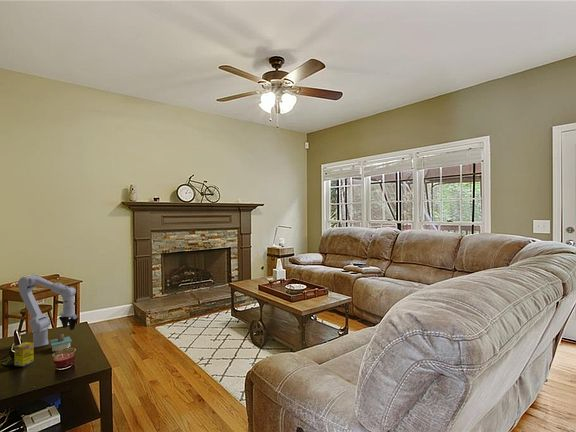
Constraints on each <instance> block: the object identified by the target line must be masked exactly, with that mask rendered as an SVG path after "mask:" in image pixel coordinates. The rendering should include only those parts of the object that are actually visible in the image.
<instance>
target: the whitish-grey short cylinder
mask: <svg viewBox="0 0 576 432" xmlns="http://www.w3.org/2000/svg"><path fill="white" fill-rule="evenodd" d="M69 347H70V348H71V343H67V344H62V345H58V346H53V347H52V346H51V352H54V351H57V350H61V349H65V348H69ZM70 348H69V349H70Z"/></svg>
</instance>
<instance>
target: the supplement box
mask: <svg viewBox="0 0 576 432" xmlns="http://www.w3.org/2000/svg"><path fill="white" fill-rule="evenodd" d="M34 348H35V347H34V343H33V342H27V341H25V342H23V343H20V344H18V345H15V346H14V365H13V366H14V367H17V368H25V367H26V366H29V365H31V364H34V359H35V358H34V357H35V356H34V354H35V353H34V351H35V350H34Z"/></svg>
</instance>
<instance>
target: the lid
mask: <svg viewBox="0 0 576 432" xmlns="http://www.w3.org/2000/svg"><path fill="white" fill-rule="evenodd" d="M67 343H70V344H71V343H73V340H72V339H71V337H70V336H65V334H64V333H62V332H60V333H58V334H57V338H54V339H50V340H49V344H50V346H51V348H52V347H53V346H58V345H62V344H67Z"/></svg>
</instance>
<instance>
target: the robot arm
mask: <svg viewBox="0 0 576 432" xmlns="http://www.w3.org/2000/svg"><path fill="white" fill-rule="evenodd" d="M17 285H18V292H19V295H20V297H21V299H22V301H23V304H24V305H25V308H26V310H27V312H28V314H29V315H30V320H29V322H28V324H29V326H30V327H29V330H30V331H31V332H32V333H33V334H32V335H33V337H32V343H34V348H39V347H43V346H48V345H49V344H50V342H49V338H48V337H49V336H48V335H49V333H48V330H49V327H50V325H51V320H50V318H49V317H48V316H47V315H46V314H45V313H42V311H41V309H40V307H39V305H38V302H37V300H36V298H35V295H34V294H33V292H32V290H33V289H34V287H36V286H38V285H39V286H42V287H45V288H48V289H50V292H53V293H55V294H57V295H59V296H60V297H62V305H63V306H62V312H60V316H59V317H58V319H59V320H60V322H61V325H62V328H63V329H65V328H68V327H69V330H70V331H73V330H75V327H76V323H77V322H78V320H79V317H78V315H77V314H76V313H75V295H76V294H77V288H76V287H74V286H68V285H64V284H62V283H61V282H55V283H54V282H52V281H50V280H48V279H45V278H43V277H42V276H41V275H38V274H34V273H33V274H30V275H27V276H22V277H21V278H19V280H18V281H17Z"/></svg>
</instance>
